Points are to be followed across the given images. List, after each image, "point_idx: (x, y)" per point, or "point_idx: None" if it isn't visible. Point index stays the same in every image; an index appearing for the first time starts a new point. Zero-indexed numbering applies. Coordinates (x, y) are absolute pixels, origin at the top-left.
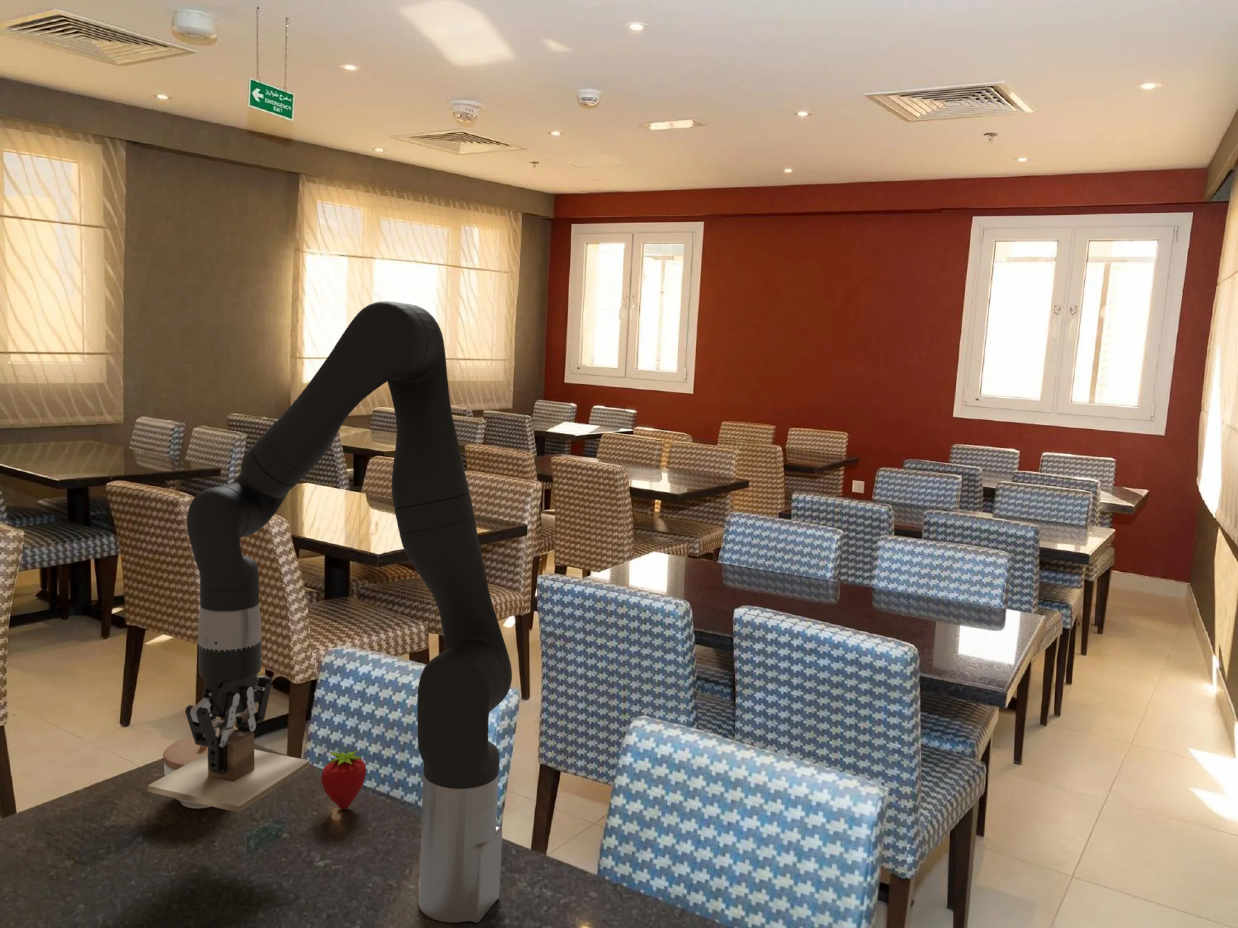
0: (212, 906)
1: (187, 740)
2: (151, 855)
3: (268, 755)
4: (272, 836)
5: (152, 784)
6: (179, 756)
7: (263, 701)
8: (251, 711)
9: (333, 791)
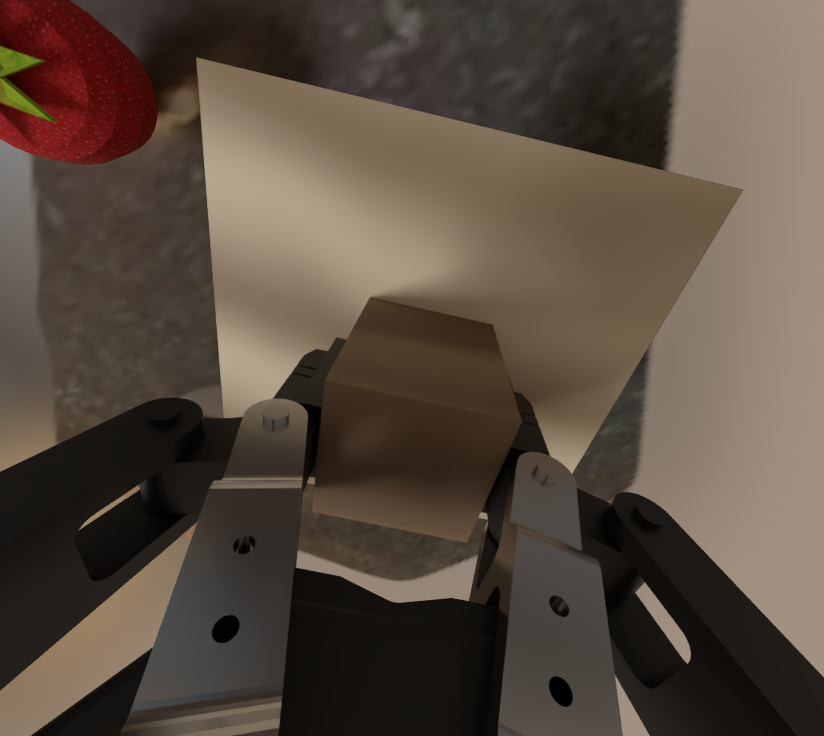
0: None
1: (187, 530)
2: None
3: (239, 299)
4: None
5: None
6: None
7: (25, 512)
8: (266, 519)
9: (147, 88)
